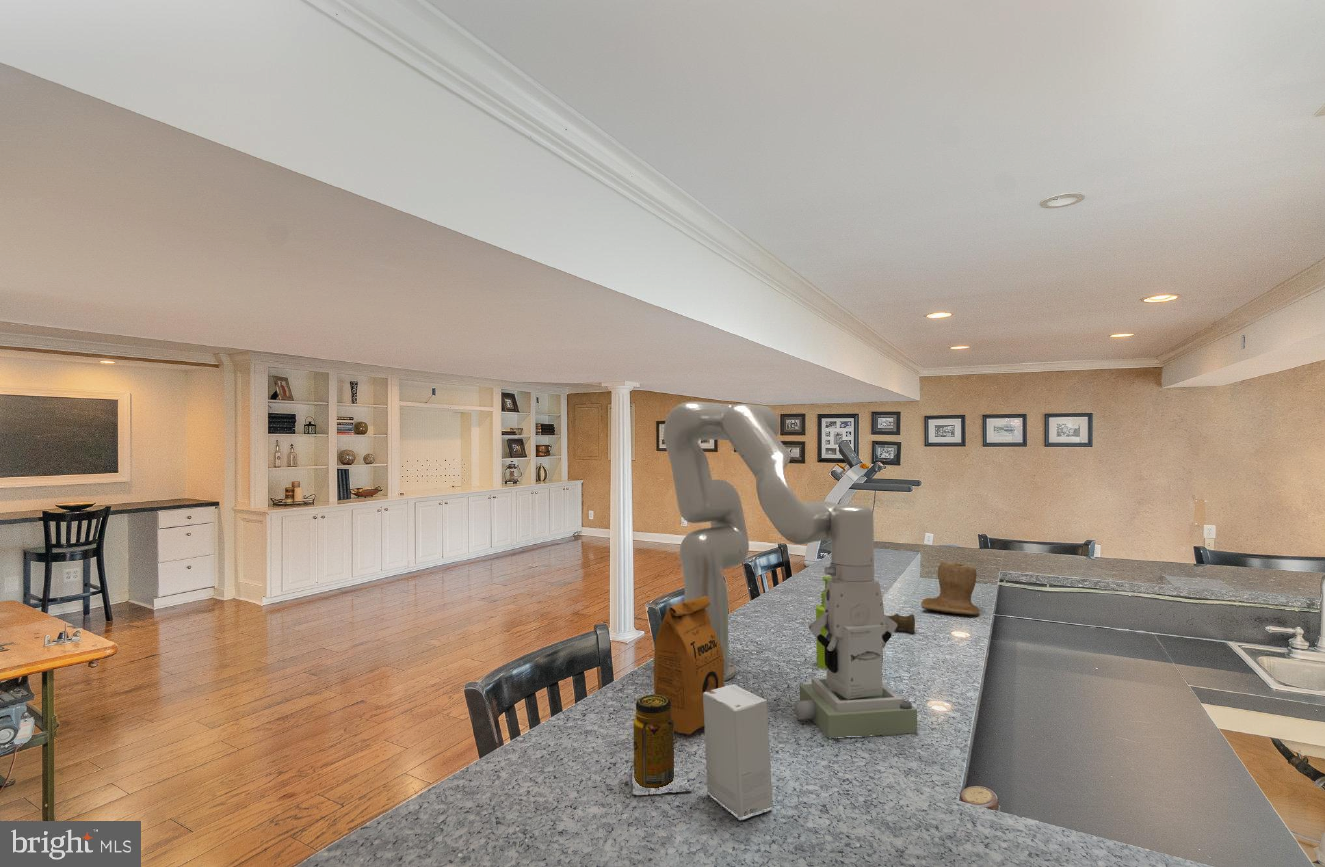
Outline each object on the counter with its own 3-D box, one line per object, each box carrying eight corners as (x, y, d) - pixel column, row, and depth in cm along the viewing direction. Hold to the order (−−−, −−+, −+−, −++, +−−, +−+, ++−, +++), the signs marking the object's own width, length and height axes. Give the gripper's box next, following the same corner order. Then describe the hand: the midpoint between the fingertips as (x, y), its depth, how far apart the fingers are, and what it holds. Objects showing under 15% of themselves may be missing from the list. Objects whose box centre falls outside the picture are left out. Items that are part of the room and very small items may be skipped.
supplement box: (847, 701, 109) (846, 628, 109) (825, 685, 116) (824, 617, 116) (884, 696, 111) (883, 625, 111) (860, 681, 118) (859, 614, 118)
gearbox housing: (811, 740, 104) (811, 707, 105) (784, 706, 118) (784, 677, 119) (917, 732, 107) (916, 700, 107) (878, 700, 121) (878, 672, 121)
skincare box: (773, 811, 84) (772, 700, 85) (737, 825, 81) (736, 710, 82) (737, 782, 92) (735, 681, 92) (702, 794, 89) (701, 689, 89)
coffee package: (733, 720, 113) (732, 598, 113) (687, 743, 104) (686, 611, 105) (693, 704, 120) (691, 590, 120) (646, 725, 111) (645, 601, 112)
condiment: (630, 771, 95) (629, 692, 96) (685, 768, 96) (684, 689, 96) (632, 797, 88) (632, 712, 88) (691, 794, 89) (691, 709, 89)
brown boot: (981, 610, 187) (980, 560, 187) (976, 620, 177) (975, 567, 177) (928, 604, 195) (927, 556, 196) (920, 612, 185) (919, 562, 186)
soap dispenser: (849, 671, 137) (848, 580, 138) (817, 669, 138) (816, 579, 139) (847, 662, 143) (845, 575, 143) (816, 660, 144) (815, 574, 145)
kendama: (913, 640, 161) (834, 628, 169) (916, 631, 169) (841, 621, 178) (913, 616, 161) (835, 606, 170) (916, 609, 170) (841, 600, 178)
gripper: (814, 578, 109) (815, 679, 108) (907, 575, 111) (909, 674, 111) (799, 570, 116) (800, 664, 116) (887, 567, 119) (888, 660, 118)
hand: (853, 668), depth 113 cm, fingers closed on supplement box, 7 cm apart
